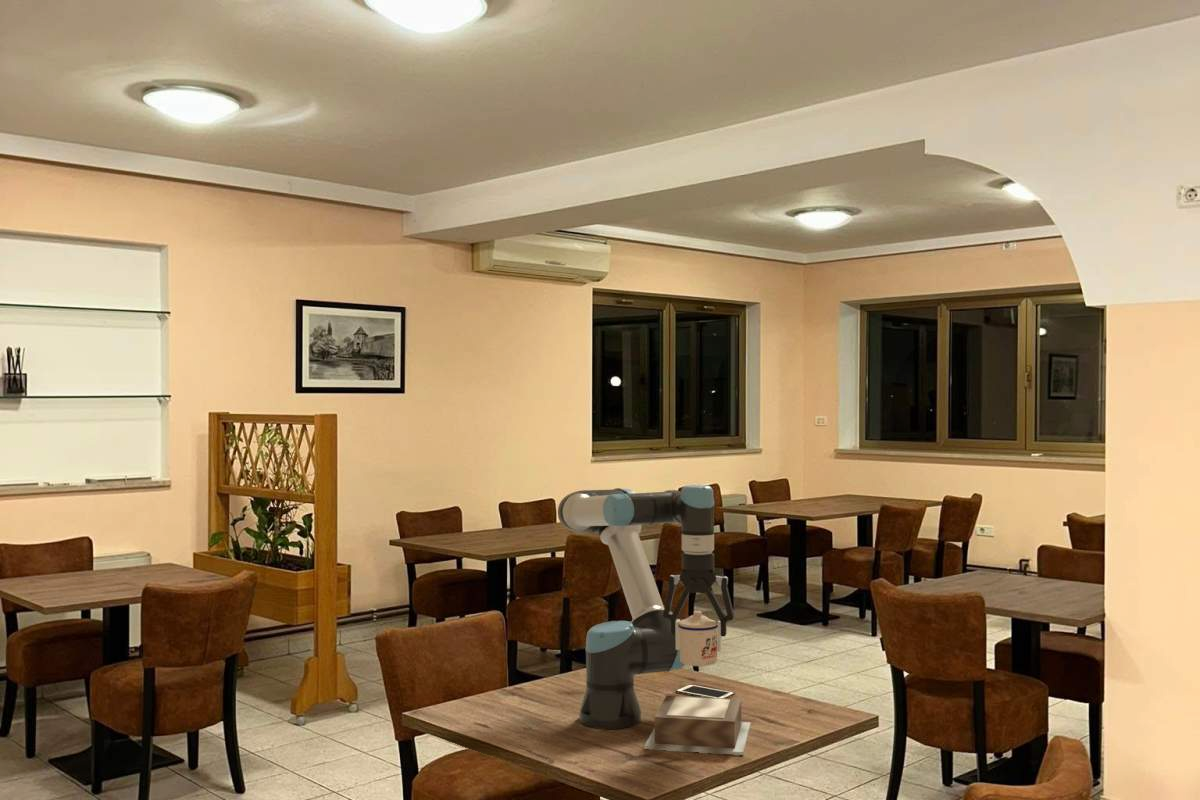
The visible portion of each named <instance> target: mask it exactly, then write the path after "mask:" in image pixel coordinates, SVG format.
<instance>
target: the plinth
mask: <svg viewBox="0 0 1200 800" xmlns="http://www.w3.org/2000/svg"><path fill="white" fill-rule="evenodd" d="M653 719H654V728H653V729H652V731H651V733H650V735H649V737H648V738H647V740H646V742H645V744H644V746H643V747H644V749H643V750H646V749H649V751H661V750H666V751H665V752H677V751H678V753H680V752H681V753H692V752H699V753H698V754H708V753H711V755H723V754H734V755H733V756H739V755H743V756H744V754H745V750H744V749H746V746H747V742H748V738H747V737H749V734H748V733H750V730H751V726H752V725H751V722H749V721H742V698H728V699H727V698H708V697H695V696H690V695H672V694H671V695H668V694H667V695H665V698H664V700H663V701H662V703H661V704H660V706H659V708H658V710H657V712H656V714H655V715H654V718H653ZM750 725H751V726H750ZM749 729H750V730H749ZM746 741H747V742H746ZM745 745H746V746H745ZM737 754H738V755H737Z"/></svg>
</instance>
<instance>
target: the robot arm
mask: <svg viewBox="0 0 1200 800" xmlns="http://www.w3.org/2000/svg"><path fill="white" fill-rule="evenodd" d="M557 517H558V519H559V522H560V524H561V525H562V527H564V528H565V529H567V530H569V531H571V532H572V533H573V532H574V533H578V534H591V533H592V534H594V533H597V534H598V535H599V538H600V541H601V542H602V544H604V545H607V546H608V548H609V552H610V554H611V557H612V560H613V563H614V565H615V566H614V567H615V569H616V572H617V576H618V579H619V582H620V584H621V588H622V591H623V594H624V597H625V600H626V603H627V606H628V609H629V612H630V615H631V617H632V619H631V621H627V620H617V621H616V620H611V621H605V622H601V623H598V624H595V625H593V626H592V627H590V628H589V630H588V631H587V633H586V640H585V646H584V647H585V648H584V649H585V665H586V666H585V667H586V669H585V670H586V673H585V674H586V676H585V677H586V687H585V693H584V695H583V698H582V702H581V705H580V708H579V722H580V724H583V725H584V726H587V727H591V728H594V729H595V728H597V729H604V730H605V729H606V730H609V729H612V730H615V729H624V728H629V727H634V726H636V725H638V724H639V723H641V721H642V710H641V706H640V704H639V700H638V697H637V694H636V691H635V688H634V687H635V684H634V682H635V680H634V676H635V675H643V674H651V673H660V672H661V673H662V672H670V671H674V670H679V669H682V668H683V667H684V666H686V665H685V664H683V663H681V662H680V641H679V626H678V624H679V622H680V621H681V619H680V618H678V616H679V615H680V612H681V611H682V609H683V606H684V604H685V602H686V600H687V598H688V596H689V595H690V593H691V594H695V593H700V594H705V595H706V596H707V597H708V600H709V601H710V603H711V605H712V607H713V609H714V611H715V613H716V615H717V617H718V619H719V620H718V621H717V626H718V627H717V653H718V652H719V653H721V651H722V650H723V637H726V635H727V622H729V621H733V619H734V618H735V613H734V608H733V604H732V600H731V596H730V592H729V587H728V584H729V583H728V582H729V577H728V576H726V575H724V576H719V575H717V574H716V571H715V554H714V553H713V551H714V550H715V531H714V530H715V500H714V489H713V488H712V487H711V486H710V485H701V484H698V485H697V484H692V485H684V486H682V488H681V491H680V490H675V489H673V490H671V489H669V490H664V491H659V492H658V491H657V492H636V491H634V490H633V489H630V488H620V487H618V488H614V489H589V490H588V489H587V490H586V489H584V490H576V491H574V492H571V493H569V494H567V495H566V496H564V497H563V498H562V499H561V500H560V502H559V504H558V508H557ZM656 524H681V551H683V552H682V554H681V573H680V574H677V575H676V574H675V575H674V574H670V575H669V577H668V578H667V579H668V586H669V587H668V590H667V591H668V592H667V593H666V594H667V595H666V599H665V605H664V603H663V600H662V598H661V595H660V593H659V589H658V586H657V583H656V581H655V577H654V576H653V575H654V574H653V572H652V570H651V569H652V568H651V567H650V564H649V561H648V558H647V556H646V552H645V550H644V547H643V544H642V540H641V538H640V533H641V531H642V527H643V525H656ZM679 581H681V583H682V585H684V587H685V588H684V590H683V592H682V594H681V596H680V597H679V600H678V602H677V604H676V606H675V608H674V610H673V612H672V611H671V609H672V604H673V599H674V595H675V593H676V586H677V585H678V584H679ZM715 582H716V583H717V585H718V586H719V587H720V588H721V590H720V591H721V595H722V597H723V602H724V606H725V611H726V614H725V612H724V610H723V608H722V606H721V604H720V602H719V600H718V598H717V595H715V592H714V590H713V588H712V586H714V584H715Z"/></svg>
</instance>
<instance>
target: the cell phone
mask: <svg viewBox="0 0 1200 800" xmlns="http://www.w3.org/2000/svg"><path fill="white" fill-rule="evenodd" d="M675 691H676V692H679V693H684V694H690V695H695V696H699V697H708V698H728V697H730V696H733V695H735V696H736V693H735V692H733V691H729V690H725V689H719V688H712V687H708V686H702V685H697V684H685V685H684V686H681V687H679V688H677V689H675ZM679 693H678V694H679ZM684 694H683V695H684ZM690 695H689V696H690ZM695 696H694V697H695ZM733 697H734V696H733ZM730 698H731V697H730ZM728 699H729V698H728Z"/></svg>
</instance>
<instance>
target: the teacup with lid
mask: <svg viewBox="0 0 1200 800" xmlns="http://www.w3.org/2000/svg"><path fill="white" fill-rule="evenodd" d="M717 623H718V621H716V620H714V619H711V618H709V617H707V616H706V615H704V614H703V612H702V611H701V610H694V611H693V614H692V615H689V616H688V617H687V618H683V619H680V622H679V624H678V626H679V641H680V662H681V663H683V664H685V665H684V666H690V667H691V666H692V667H707V666H711V665H715V664H716V663H717V662H718V651H717V627H718V626H717Z"/></svg>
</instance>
